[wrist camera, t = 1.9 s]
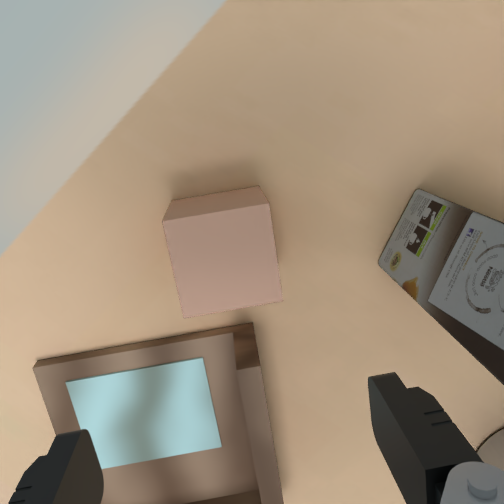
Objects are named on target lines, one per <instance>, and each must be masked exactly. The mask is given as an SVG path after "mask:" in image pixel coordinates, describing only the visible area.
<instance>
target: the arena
mask: <svg viewBox="0 0 504 504" xmlns="http://www.w3.org/2000/svg"><path fill="white" fill-rule="evenodd" d="M33 371H34V374H35V377H36V379H37V382H38V385H39V388H40V391H41V394H42V397H43V400H44V402H45V405H46V408H47V411H48V414H49V417H50V420H51V422H52V425H53V428H54V431H55V434H56V436H57V435H58V434H60V433H65V432H71V431H76V430H81V429H87V430H88V431H89V433H90V436H91V439H92V442H93V445H94V448H95V451H96V454H97V457H98V460H99V463H100V466H101V469H102V473H103V478H104V492H103V497H102V501H101V504H284V502H283V496H282V490H281V485H280V479H279V473H278V467H277V461H276V455H275V449H274V444H273V438H272V432H271V426H270V420H269V414H268V408H267V402H266V397H265V391H264V385H263V379H262V373H261V367H260V362H259V356H258V351H257V345H256V339H255V334H254V328H253V323H248V324H242V325H237V326H231V327H225V328H220V329H214V330H208V331H203V332H197V333H191V334H186V335H180V336H174V337H169V338H163V339H157V340H152V341H146V342H140V343H135V344H129V345H123V346H118V347H112V348H106V349H101V350H95V351H89V352H84V353H78V354H72V355H67V356H61V357H55V358H50V359H44V360H38V361H37V362H36V364H35V365H34V367H33Z"/></svg>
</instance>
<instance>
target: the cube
mask: <svg viewBox="0 0 504 504" xmlns="http://www.w3.org/2000/svg"><path fill="white" fill-rule="evenodd" d="M162 223H163V227H164V232H165V236H166V241H167V245H168V250H169V254H170V259H171V263H172V268H173V272H174V277H175V282H176V286H177V291H178V295H179V300H180V304H181V309H182V313H183V318H189V317H195V316H201V315H206V314H212V313H218V312H223V311H229V310H235V309H240V308H246V307H252V306H258V305H263V304H269V303H275V302H280V301H283V296H282V289H281V282H280V275H279V268H278V261H277V254H276V248H275V241H274V234H273V227H272V220H271V213H270V206H269V202H268V200H267V199H266V197H265V195H264V194H263V192H262V190H261V188H260V187H259V186H256V187H250V188H244V189H238V190H232V191H226V192H220V193H214V194H208V195H202V196H196V197H190V198H184V199H178V200H172V201H171V203H170V205H169V207H168V209H167V212H166V214H165V216H164V218H163V221H162Z"/></svg>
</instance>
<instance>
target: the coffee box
mask: <svg viewBox="0 0 504 504" xmlns="http://www.w3.org/2000/svg"><path fill="white" fill-rule="evenodd" d="M379 266H380V267H381V268H382V269H383V270H384V271H385V272H386V273H387V274H388V275H389V276H390V277H391V278H392V279H393V280H394V281H395V282H396V283H398V285H400V286H401V287H402V288H403V289H404V290H405V291H406V292H407V293H408V294H409V295H410V296H411V297H412V298H413V299H414V300H415V301H416V302H417V303H418V304H419V305H420V306H421V307H422V308H424V309H425V310H426V311H427V312H428V313H429V314H430V315H431V316H432V317H433V318H434V319H435V320H436V321H437V322H438V323H439V324H440V325H441V326H442V327H443V328H444V329H445V330H447V331H448V332H449V333H450V334H451V335H452V336H453V337H454V338H455V339H456V340H457V341H458V342H459V343H460V344H461V345H462V346H463V347H464V348H465V349H467V350H468V351H469V352H470V353H471V354H472V355H473V356H474V357H475V358H476V359H477V360H478V361H479V362H480V363H481V364H482V365H483V366H484V367H485V368H486V369H487V370H488V371H490V372H491V373H492V374H493V375H494V376H495V377H496V378H497V379H498V380H499V381H500V382H501V383H502V384H503V385H504V223H502V222H500V221H497V220H495V219H492V218H490V217H488V216H485V215H483V214H480V213H478V212H475V211H473V210H470V209H468V208H465V207H463V206H460V205H458V204H455V203H453V202H450V201H447V200H445V199H443V198H440V197H438V196H435V195H433V194H430V193H428V192H425V191H423V190H421V189H417V190H416V191H415V192H414V194H413V196H412V198H411V200H410V202H409V204H408V206H407V207H406V209H405V211H404V213H403V215H402V217H401V219H400V221H399V223H398V224H397V226H396V228H395V230H394V232H393V234H392V236H391V238H390V240H389V242H388V244H387V245H386V247H385V249H384V251H383V253H382V255H381V257H380V259H379Z"/></svg>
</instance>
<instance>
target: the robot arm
mask: <svg viewBox="0 0 504 504" xmlns="http://www.w3.org/2000/svg"><path fill="white" fill-rule="evenodd" d="M368 388H369V399H370V410H371V421H372V427H373V431H374V435H375V438H376V441H377V444H378V446H379V448H380V450H381V452H382V454H383V456H384V458H385V460H386V462H387V465H388V467H389V469H390V471H391V473H392V475H393V477H394V479H395V481H396V483H397V485H398V487H399V489H400V491H401V493H402V495H403V497H404V499H405V502H406V504H504V429H502V430H501V431H499V432H497V433H495V434H494V435H493V436H492V437H490V438H489V439H488V440H487V441H486V442H485V443H484V444H483V445H482V446H481V447H480V448H479V450H478V452H477V453H476V451H475V450H474V449H473V447H472V446H471V445H470V443H469V442H468V441H467V440H466V438H465V437H464V436H463V434H462V433H461V432H460V430H459V429H458V428H457V426H456V425H455V424H454V423H452V420H451V418H450V417H449V416H448V415H447V413H446V412H444V409H443V408H442V407H441V405H440V404H439V403H438V401H437V400H436V399H435V397H434V396H432V395H431V394H429V393H427V392H426V391H424V390H423V389H421V388H419V387H413V388H408V389H407V388H406V387H405V385H404V384H403V382H402V381H401V380H400V378H399V377H398V375H397V374H396V373H395V372H392V373H387V374H382V375H376V376H371V377H369V378H368ZM103 492H104V478H103V473H102V469H101V466H100V463H99V460H98V457H97V454H96V451H95V448H94V445H93V442H92V439H91V436H90V433H89V431H88V430H87V429H81V430H76V431H71V432H65V433H60V434H58V435H57V436H56V437H55V439H54V441H53V443H52V445H51V448H50V450H49V452H48V454H47V455H45V456H40V457H38V458H37V459H36V460H35V462H34V463H33V464H32V465H31V466H30V467H29V468H28V469H27V470H26V471H25V472H24V474H23V476H22V478H21V480H20V481H19V483H18V485H17V487H16V492H14V493H13V495H12V497H11V499H10V501H9V504H101V501H102V497H103Z"/></svg>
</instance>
